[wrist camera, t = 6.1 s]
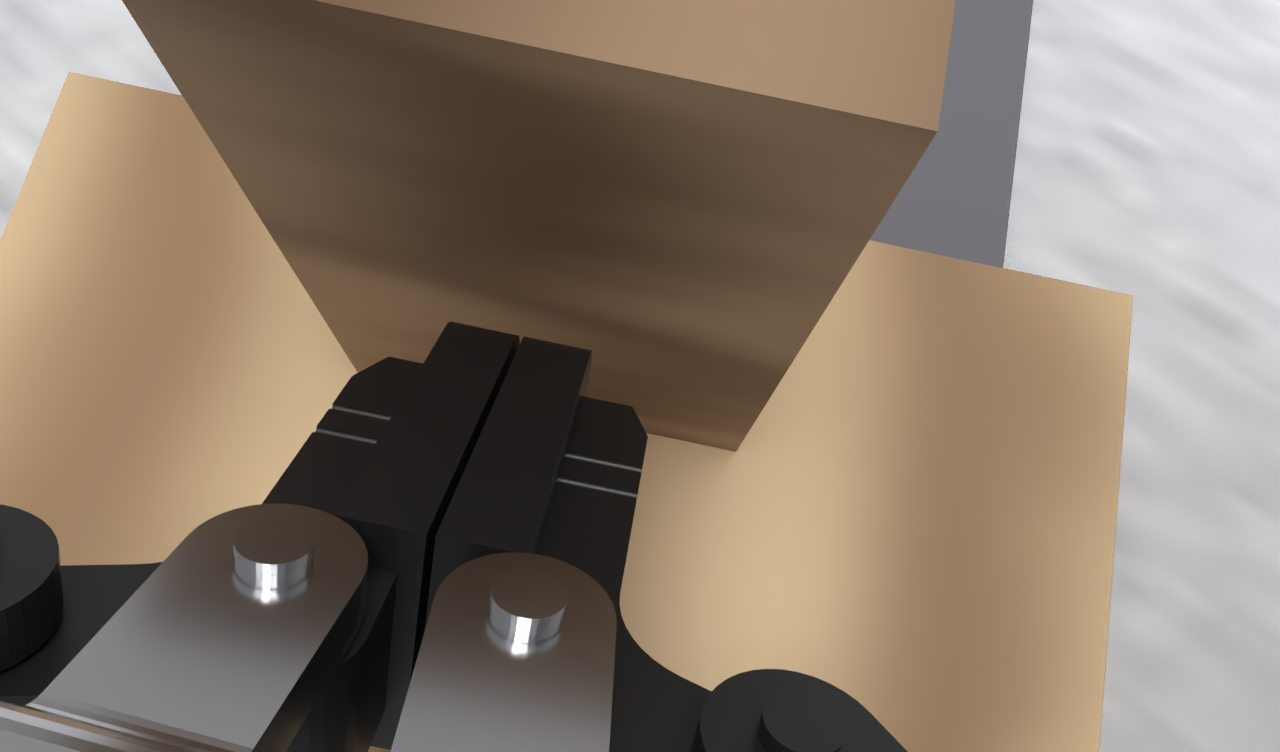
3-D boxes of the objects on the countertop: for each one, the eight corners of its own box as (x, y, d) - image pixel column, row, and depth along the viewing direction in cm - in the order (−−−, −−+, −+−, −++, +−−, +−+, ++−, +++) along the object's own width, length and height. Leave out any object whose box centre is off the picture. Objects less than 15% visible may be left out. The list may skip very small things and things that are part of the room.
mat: (1044, -144, 26) (1050, -154, 26) (990, 333, 22) (995, 328, 22) (413, -277, 26) (411, -287, 26) (260, 180, 22) (256, 173, 22)
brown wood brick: (767, 275, 18) (984, -207, 9) (736, 452, 17) (938, 130, 8) (407, 199, 18) (225, -365, 9) (356, 372, 17) (94, -45, 8)
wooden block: (1036, 366, 22) (1133, 295, 18) (976, 968, 19) (1078, 1032, 15) (154, 181, 22) (69, 72, 19) (-55, 750, 19) (-211, 760, 15)
